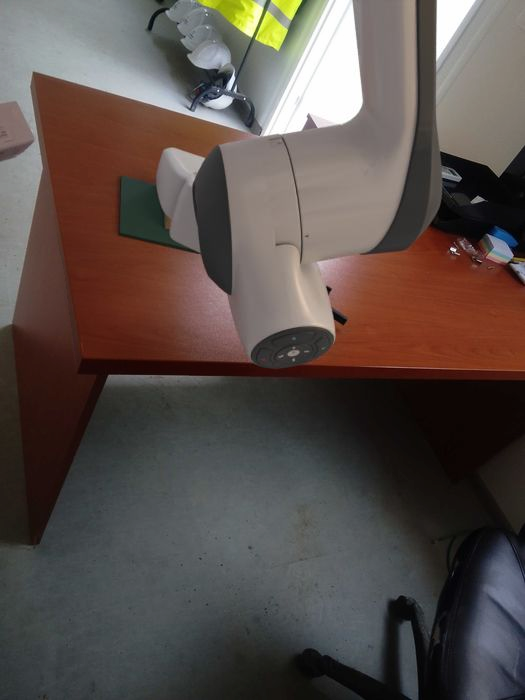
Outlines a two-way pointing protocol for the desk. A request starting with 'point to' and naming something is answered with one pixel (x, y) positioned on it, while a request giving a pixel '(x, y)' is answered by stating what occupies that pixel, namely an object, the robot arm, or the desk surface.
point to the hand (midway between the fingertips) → (239, 164)
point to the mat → (143, 214)
